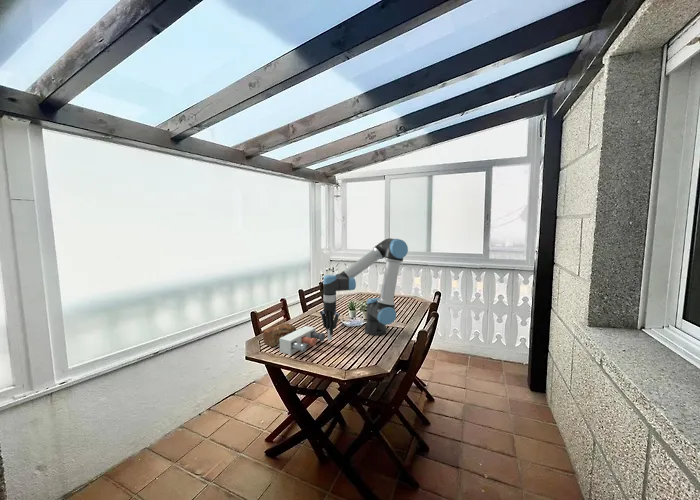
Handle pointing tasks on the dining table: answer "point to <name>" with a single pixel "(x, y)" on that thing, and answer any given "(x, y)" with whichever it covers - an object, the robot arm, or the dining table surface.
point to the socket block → (294, 339)
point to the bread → (277, 334)
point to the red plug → (308, 341)
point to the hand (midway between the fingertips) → (329, 339)
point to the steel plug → (299, 346)
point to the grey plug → (318, 336)
